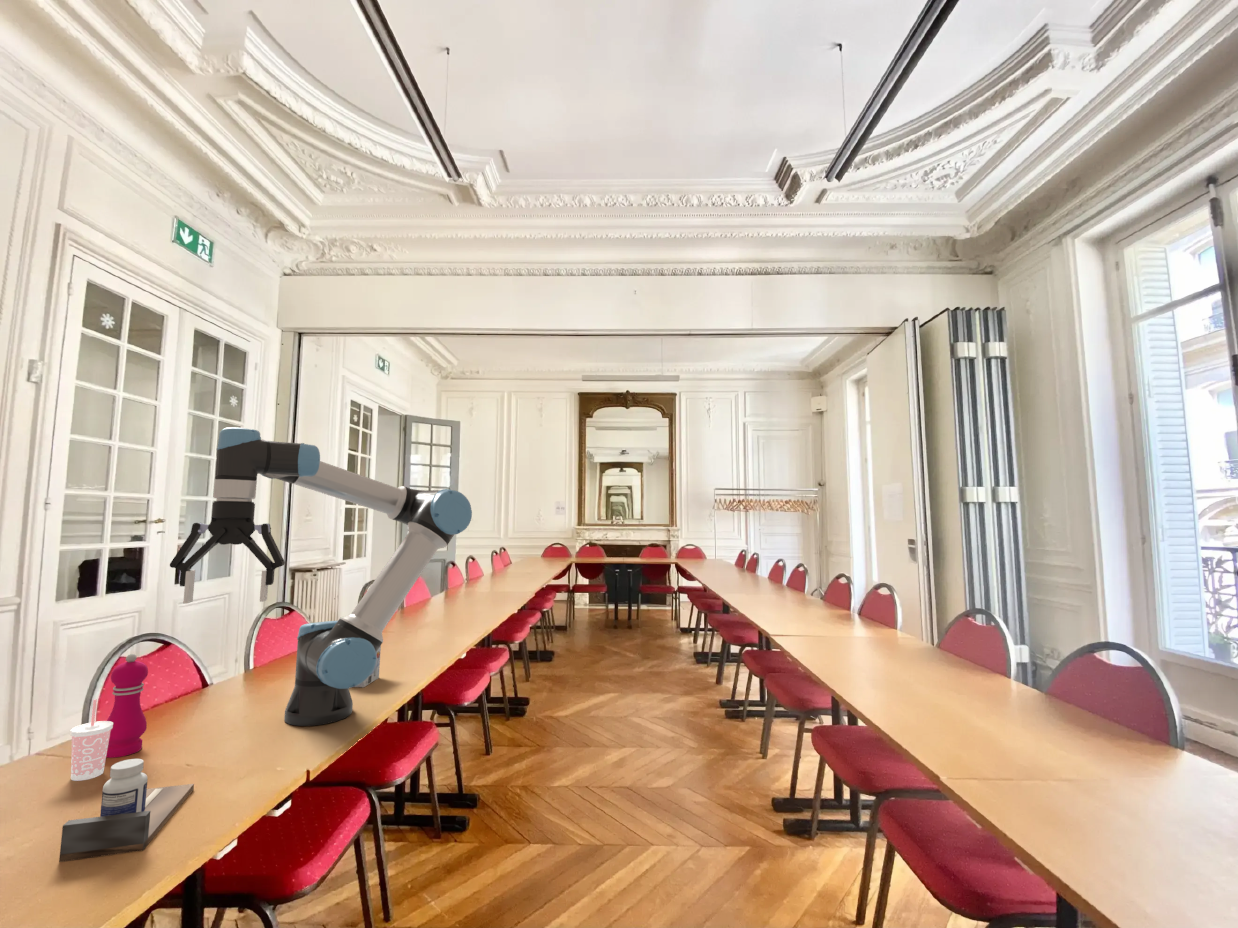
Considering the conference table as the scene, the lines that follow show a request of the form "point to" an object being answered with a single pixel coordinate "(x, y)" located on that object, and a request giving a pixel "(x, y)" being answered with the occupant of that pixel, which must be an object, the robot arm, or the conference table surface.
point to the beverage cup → (89, 748)
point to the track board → (122, 827)
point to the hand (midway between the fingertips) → (226, 601)
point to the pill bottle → (125, 789)
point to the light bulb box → (375, 672)
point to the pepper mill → (127, 708)
